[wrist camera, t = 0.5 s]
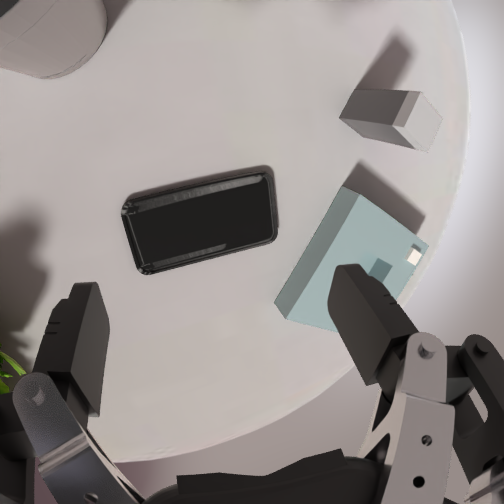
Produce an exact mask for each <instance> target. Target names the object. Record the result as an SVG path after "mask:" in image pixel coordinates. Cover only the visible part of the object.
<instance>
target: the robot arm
mask: <svg viewBox="0 0 504 504" xmlns="http://www.w3.org/2000/svg"><path fill="white" fill-rule="evenodd" d="M106 27H107V14H106V10H105V7H104V4H103V1H102V0H0V68H4V69H8V70H12V71H15V72H19V73H22V74H26V75H30V76H34V77H37V78H41V79H53V78H58V77H62V76H64V75H67V74H70V73H71V72H73V71H75V70H77V69H78V68H80V67H81V66H82V65H83V64H85V63H86V62H87V61H88V60H89V59H90V58H91V57H92V56H93V55H94V53H95V52H96V51H97V49H98V48H99V46H100V44H101V43H102V40H103V38H104V35H105V32H106ZM327 307H328V312H329V315H330V317H331V319H332V321H333V323H334V325H335V327H336V328H337V330H338V332H339V334H340V336H341V338H342V340H343V342H344V344H345V346H346V347H347V349H348V351H349V353H350V355H351V357H352V359H353V361H354V363H355V365H356V367H357V369H358V371H359V372H360V375H361V377H362V378H363V380H364V382H365V384H366V386H368V385H371V384H375V383H379V385H380V387H381V388H380V390H379V391H378V395H377V399H376V403H375V406H374V410H373V414H372V418H371V422H370V425H369V429H368V432H367V435H366V438H365V440H364V442H363V444H362V446H361V447H360V449H359V452H358V454H357V456H356V457H347V456H346V457H344V455H343V452H342V450H341V449H337V450H333V451H330V452H326V453H322V454H318V455H314V456H311V457H306V458H303V459H301V460H299V461H297V462H295V463H293V464H291V465H289V466H286V467H284V468H282V469H280V470H278V471H276V472H274V473H272V474H269V475H266V476H250V475H238V474H227V473H209V474H196V475H179V476H177V484H175V485H171V486H169V487H166V488H164V489H162V490H160V491H158V492H156V493H154V494H153V495H151V496H150V497H149V498H147V499H145V498H144V497H143V496H142V495H141V494H140V493H139V492H138V491H137V489H136V488H135V487H134V486H133V485H132V484H131V483H130V482H129V481H128V480H127V479H126V478H125V477H124V475H123V474H122V473H121V472H120V471H119V470H118V468H117V467H116V466H115V465H114V463H113V462H112V461H111V459H110V458H109V457H108V456H107V454H106V453H105V452H104V450H103V449H102V448H101V446H100V445H99V443H98V442H97V441H96V439H95V438H94V436H93V435H92V434H91V432H90V431H89V429H88V428H87V423H88V417H99V416H100V404H101V394H102V385H103V376H104V368H105V361H106V354H107V347H108V341H109V334H110V325H109V318H108V315H107V312H106V309H105V305H104V302H103V299H102V296H101V292H100V289H99V286H98V284H97V283H96V282H84V283H75V284H74V285H73V287H72V290H71V292H70V295H69V298H68V299H61V301H60V302H59V303H58V304H57V305H56V306H55V308H54V309H53V310H52V313H51V315H50V318H49V321H48V325H47V327H46V329H45V335H43V338H42V341H41V344H40V348H39V351H38V354H37V357H36V361H35V364H34V368H33V371H32V373H30V374H28V375H26V376H24V377H23V378H21V379H20V380H19V381H18V383H17V384H16V386H15V388H14V390H13V392H9V393H5V394H0V504H34V472H35V471H34V470H35V457H39V459H40V462H41V464H39V465H38V469H39V472H40V474H41V476H42V478H43V480H44V481H45V483H46V485H47V487H48V488H49V490H50V491H51V493H52V495H53V496H54V498H55V500H56V501H57V503H58V504H457V503H456V502H453V501H451V500H449V499H447V498H445V497H444V495H445V490H446V485H447V478H448V473H449V466H450V459H451V451H452V445H453V448H454V450H455V452H456V454H457V456H458V458H459V461H460V463H461V465H462V468H463V470H464V472H465V474H466V477H467V479H468V482H469V484H470V488H469V492H468V493H467V494H466V495H465V498H464V502H465V504H504V360H503V359H502V357H501V356H500V354H499V353H498V351H497V350H496V349H495V347H494V346H493V344H492V343H491V342H490V341H489V340H487V339H486V338H485V337H483V336H480V335H476V334H473V335H470V336H468V337H467V338H466V340H465V341H464V343H463V344H462V346H444V344H443V343H442V342H441V340H440V339H438V338H437V337H436V336H434V335H432V334H429V333H424V332H419V331H418V330H417V328H416V327H415V326H414V324H413V323H412V321H411V320H410V319H409V317H408V316H407V315H406V313H405V312H404V311H403V309H402V308H401V307H400V305H399V304H397V301H396V300H395V299H394V297H393V296H391V293H390V292H389V291H388V289H387V288H386V287H385V286H384V284H383V283H381V282H380V281H378V280H377V279H376V278H374V277H373V276H369V275H368V274H367V273H366V272H365V270H364V269H363V268H362V266H361V265H360V264H358V263H354V264H343V265H338V266H337V267H336V268H335V271H334V275H333V280H332V284H331V288H330V292H329V296H328V300H327ZM474 387H475V389H476V390H477V392H478V394H479V395H480V397H481V399H482V400H483V402H484V404H485V405H486V408H487V411H488V417H487V420H486V422H485V423H484V422H483V420H482V418H481V416H480V414H479V412H478V410H477V409H476V407H475V405H474V403H473V401H472V400H471V398H470V396H469V393H470V392H471V391H472V390H473V388H474Z"/></svg>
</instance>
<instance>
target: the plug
mask: <svg viewBox="0 0 504 504" xmlns="http://www.w3.org/2000/svg"><path fill="white" fill-rule="evenodd" d="M339 119H341V120H342V121H343V122H345V123H346V124H347V125H348V126H350V127H351V128H352V129H354V130H355V131H356V132H357V133H359V134H360V135H361V136H362V137H365V138H369V139H374V140H379V141H383V142H387V143H392V144H396V145H400V146H404V147H408V148H412V149H416V150H419V151H423V152H427V153H428V151H429V149H430V147H431V144H432V142H433V140H434V138H435V136H436V133H437V131H438V129H439V127H440V124H441V122H442V120H443V118H442V117H441V115H440V114H439V113H438V112H437V110H436V109H435V108H434V107H433V105H432V104H431V103H430V102H429V101H428V99H427V98H426V97H425V96H424V95H423V94H422V92H418V91H402V90H364V89H358V90H354V91H353V93H352V95H351V97H350V99H349V100H348V102H347V104H346V106H345V108H344V110H343V111H342V113H341V115H340V117H339Z"/></svg>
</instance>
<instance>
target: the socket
mask: <svg viewBox="0 0 504 504" xmlns="http://www.w3.org/2000/svg"><path fill="white" fill-rule="evenodd" d="M428 247H429V246H428V245H427V244H426V243H425V242H423V241H422V240H421V239H420V238H418V237H417V236H416V235H415V234H413V233H412V232H411V231H409V230H408V229H407V228H406V227H404V226H403V225H402V224H400V223H399V222H398V221H396V220H395V219H394V218H392V217H391V216H390V215H388V214H387V213H386V212H384V211H383V210H382V209H380V208H379V207H377V206H376V205H375V204H373V203H372V202H370V201H369V200H368V199H366V198H365V197H363V196H362V195H361V194H359V193H357V192H354V191H352V190H350V189H348V188H346V187H343V186H341V188H340V190H339V192H338V194H337V196H336V197H335V199H334V201H333V203H332V204H331V206H330V208H329V210H328V212H327V213H326V215H325V217H324V219H323V220H322V222H321V224H320V226H319V227H318V229H317V231H316V233H315V234H314V236H313V238H312V240H311V241H310V243H309V245H308V247H307V248H306V250H305V252H304V253H303V255H302V257H301V258H300V260H299V262H298V264H297V265H296V267H295V269H294V270H293V272H292V274H291V275H290V277H289V279H288V280H287V282H286V284H285V285H284V287H283V289H282V290H281V292H280V294H279V295H278V297H277V299H276V300H275V302H274V303H275V305H276V306H277V308H278V309H279V310H280V312H281V313H282V315H283V316H284V318H285V319H287V320H291V321H294V322H298V323H302V324H306V325H310V326H313V327H317V328H321V329H325V330H329V331H333V332H337V333H339V332H338V330H337V328H336V327H335V325H334V323H333V321H332V319H331V317H330V315H329V312H328V307H327V300H328V296H329V292H330V288H331V284H332V280H333V275H334V271H335V268H336V267H337V266H338V265H343V264H354V263H358V264H360V265H361V266H362V268H363V269H364V270H365V272H366V273H367V274H368V275H369V276H373V277H374V278H376V279H377V280H378V281H380V282H381V283H383V284H384V286H385V287H386V288H387V289H388V291H389V292H390V293H391V296H393V297H394V299H395V300H397V298H398V297H399V295H400V293H401V292H402V290H403V289H404V287H405V285H406V284H407V282H408V281H409V279H410V277H411V276H412V274H413V272H414V271H415V269H416V267H417V266H418V264H419V262H420V261H421V259H422V257H423V256H424V254H425V252H426V250H427V248H428Z"/></svg>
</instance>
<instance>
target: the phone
mask: <svg viewBox="0 0 504 504" xmlns="http://www.w3.org/2000/svg"><path fill="white" fill-rule="evenodd" d="M121 217H122V221H123V224H124V228H125V231H126V235H127V238H128V242H129V245H130V248H131V252H132V255H133V258H134V261H135V264H136V267H137V269H138V271H139V272H140V273H142V274H144V275H151V274H155V273H159V272H163V271H167V270H170V269H174V268H178V267H182V266H186V265H189V264H193V263H197V262H201V261H205V260H209V259H212V258H216V257H220V256H224V255H228V254H232V253H236V252H239V251H243V250H247V249H251V248H255V247H259V246H263V245H266V244H270V243H272V242H273V241H274V240H275V239H276V237H277V235H278V229H277V218H276V207H275V197H274V187H273V180H272V177H271V176H270V175H269V174H268V173H266V172H263V171H256V172H251V173H246V174H241V175H235V176H230V177H226V178H221V179H216V180H211V181H207V182H202V183H198V184H193V185H189V186H184V187H180V188H176V189H172V190H167V191H163V192H159V193H155V194H151V195H147V196H143V197H139V198H136V199H132V200H129V201H127V202H126V203H125V204H124V205H123V207H122V211H121Z"/></svg>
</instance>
